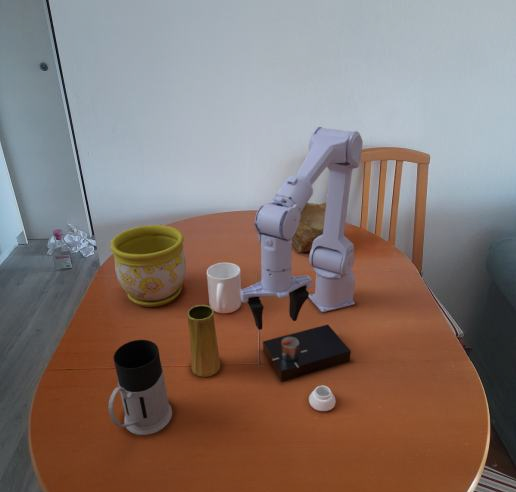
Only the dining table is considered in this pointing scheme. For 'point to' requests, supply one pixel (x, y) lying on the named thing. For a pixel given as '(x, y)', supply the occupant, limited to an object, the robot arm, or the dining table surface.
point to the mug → (224, 287)
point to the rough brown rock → (309, 226)
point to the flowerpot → (150, 263)
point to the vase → (203, 341)
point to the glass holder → (141, 388)
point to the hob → (308, 352)
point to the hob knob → (290, 348)
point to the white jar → (322, 399)
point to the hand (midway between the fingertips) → (276, 322)
